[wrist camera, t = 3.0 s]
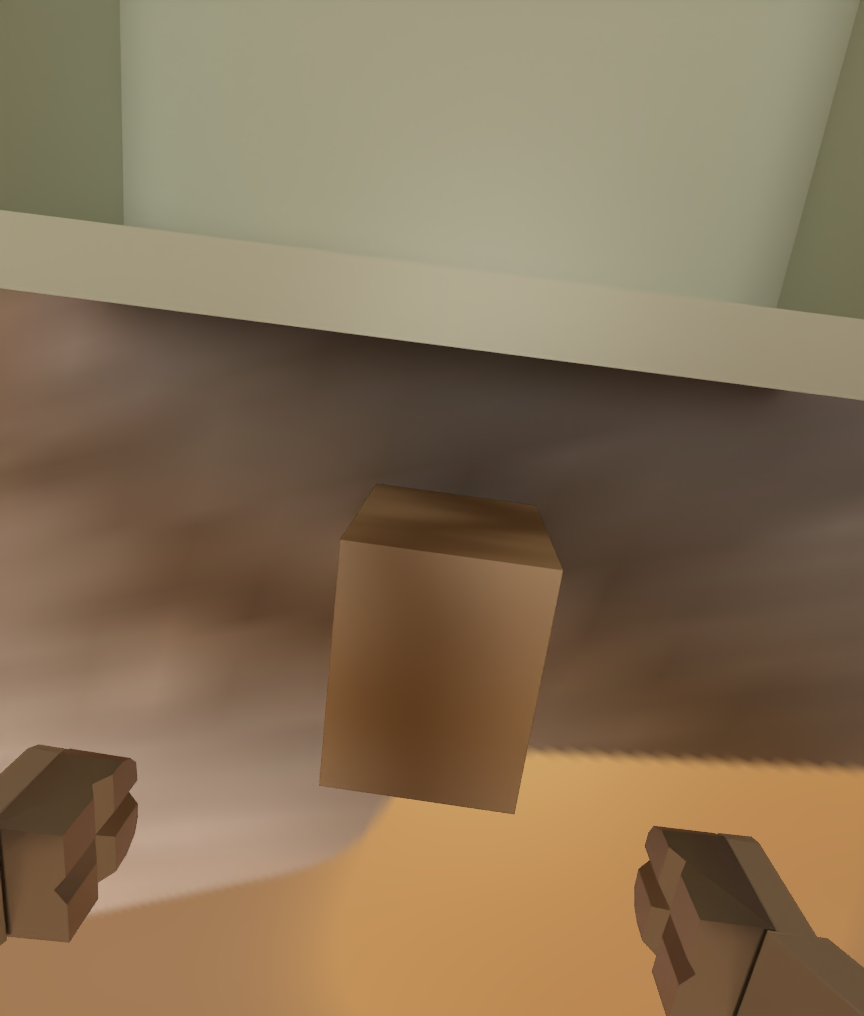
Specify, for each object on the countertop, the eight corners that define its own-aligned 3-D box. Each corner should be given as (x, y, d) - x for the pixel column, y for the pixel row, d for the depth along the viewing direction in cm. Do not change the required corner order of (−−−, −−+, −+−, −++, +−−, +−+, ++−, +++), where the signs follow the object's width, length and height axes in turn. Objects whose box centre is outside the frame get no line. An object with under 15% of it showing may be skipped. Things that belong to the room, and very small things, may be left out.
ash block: (535, 504, 17) (562, 570, 12) (502, 689, 18) (514, 814, 13) (376, 483, 17) (340, 539, 12) (358, 669, 18) (319, 785, 13)
